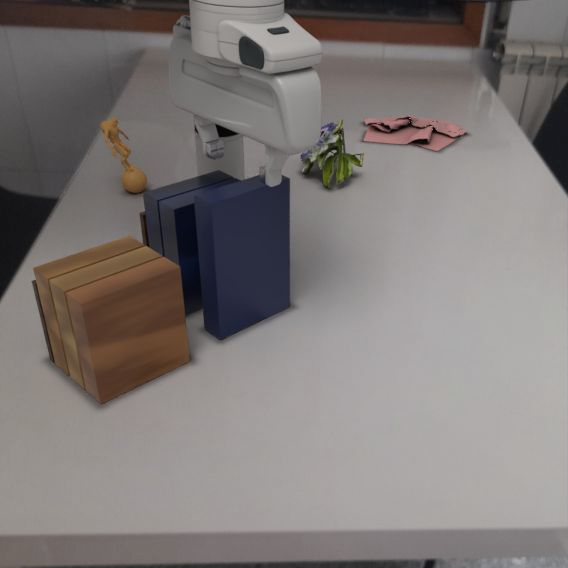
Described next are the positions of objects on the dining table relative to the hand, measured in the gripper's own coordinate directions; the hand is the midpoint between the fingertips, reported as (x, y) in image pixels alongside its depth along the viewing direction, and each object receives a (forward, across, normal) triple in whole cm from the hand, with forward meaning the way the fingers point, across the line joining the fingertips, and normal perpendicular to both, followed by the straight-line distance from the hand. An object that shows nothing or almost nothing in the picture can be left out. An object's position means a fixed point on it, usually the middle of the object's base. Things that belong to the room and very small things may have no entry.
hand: (241, 170), depth 77 cm
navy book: (+19, 0, 0) cm, 19 cm away
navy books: (+19, -9, 0) cm, 21 cm away
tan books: (+19, -2, -16) cm, 25 cm away
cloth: (+19, -32, +69) cm, 78 cm away
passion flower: (+19, -26, +40) cm, 51 cm away
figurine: (+19, -42, +10) cm, 47 cm away
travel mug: (+19, -17, +10) cm, 27 cm away
